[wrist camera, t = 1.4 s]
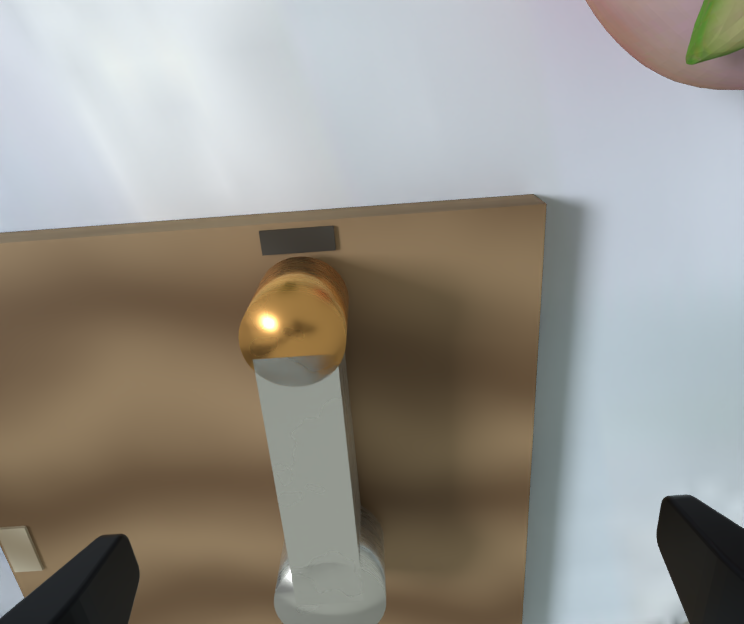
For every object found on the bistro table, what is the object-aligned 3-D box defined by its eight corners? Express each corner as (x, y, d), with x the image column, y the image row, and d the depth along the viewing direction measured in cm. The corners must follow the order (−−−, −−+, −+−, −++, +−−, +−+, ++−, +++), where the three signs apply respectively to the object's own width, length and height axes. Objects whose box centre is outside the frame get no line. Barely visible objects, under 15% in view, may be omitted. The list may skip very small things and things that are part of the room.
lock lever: (386, 570, 23) (389, 638, 20) (291, 576, 23) (281, 644, 20) (360, 252, 17) (359, 285, 15) (235, 261, 18) (211, 296, 15)
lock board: (512, 630, 28) (520, 662, 26) (80, 656, 28) (64, 689, 26) (532, 194, 19) (547, 204, 17) (-99, 240, 19) (-138, 253, 18)
